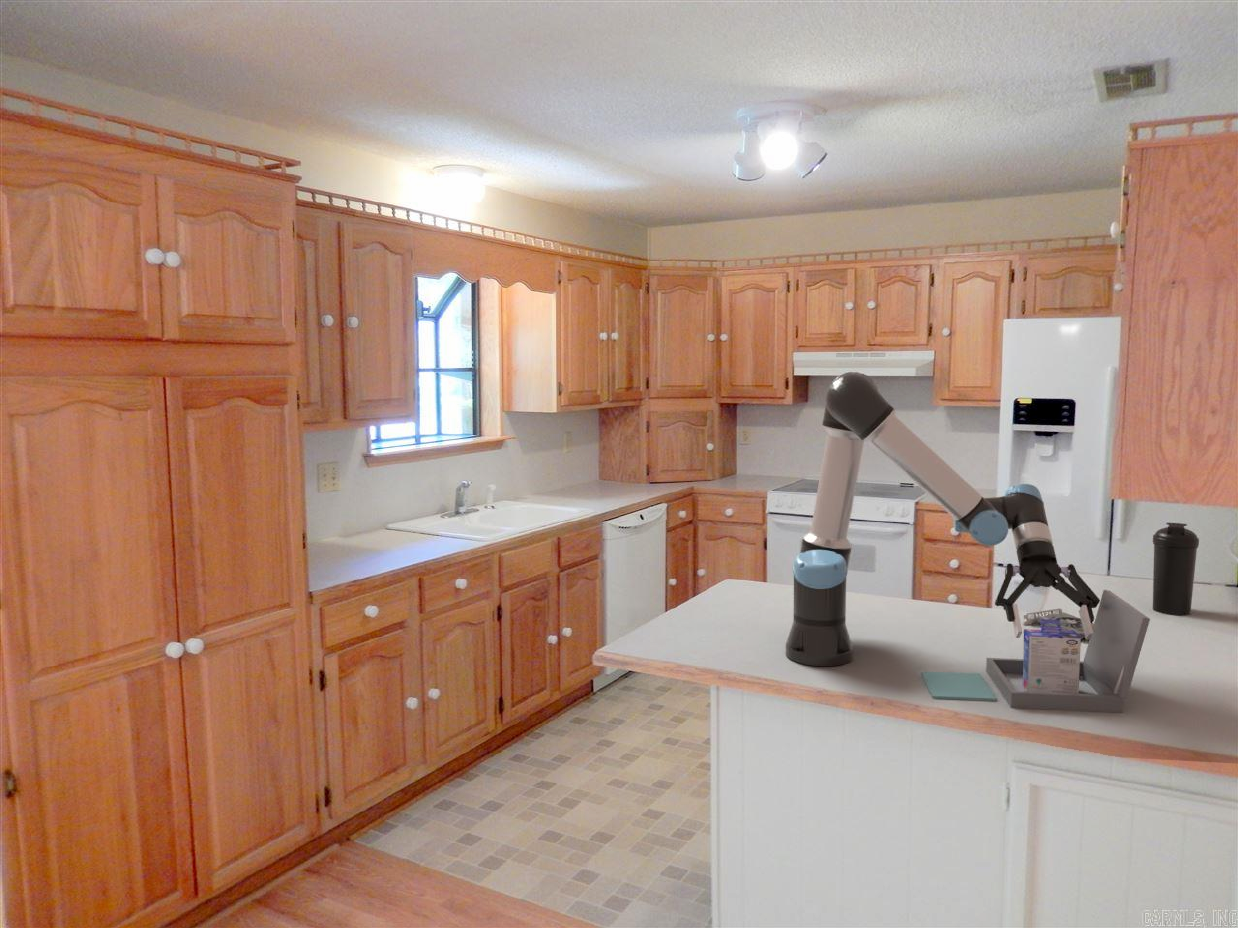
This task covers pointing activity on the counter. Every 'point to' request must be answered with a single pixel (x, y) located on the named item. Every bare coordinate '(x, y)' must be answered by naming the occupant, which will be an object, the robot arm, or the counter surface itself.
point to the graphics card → (1065, 619)
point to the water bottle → (1174, 569)
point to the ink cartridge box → (1051, 659)
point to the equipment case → (1088, 663)
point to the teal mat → (957, 686)
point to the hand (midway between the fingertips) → (1054, 635)
